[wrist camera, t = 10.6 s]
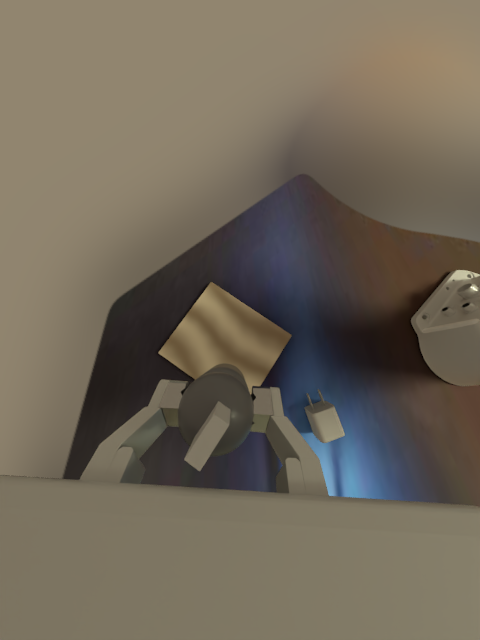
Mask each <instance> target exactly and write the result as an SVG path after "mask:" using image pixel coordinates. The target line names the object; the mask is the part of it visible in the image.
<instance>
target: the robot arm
mask: <svg viewBox="0 0 480 640" xmlns="http://www.w3.org/2000/svg"><path fill="white" fill-rule="evenodd" d="M422 317H423V318H422ZM411 324H412V326H413V328H414V330H415V332H416V333H417V335H418V339H419V345H420V350H421V353H422V355H423V358H424V360H425V362H426V363H427V365H428V366H429V367H430V369H431V370H432V371H433V372H434V373H435V374H436V375H437V376H439V377H440V378H441V379H443V380H445V381H447V382H449V383H451V384H454V385H458V386H472V385H480V275H479V274H476V273H473V272H470V271H465V270H456V271H452V272H451V273H449V275H448V276H447V277H446V278H445V279H444V280H443V282H442V283H441V284H440V285H439V286H438V287H437V289H436V290H435V291H434V292H433V293H432V294H431V296H430V297H429V298H428V299H427V300H426V302H425V303H424V304H423V305H422V306H421V307H420V309H419V310H418V311H417V312H416V313H415V315H414V316H413V317H412V318H411ZM188 386H189V382H188V381H176V380H164V379H161V380H160V382H159V383H158V385H157V388H156V390H155V392H154V394H153V396H152V398H151V401H150V403H149V405H148V407H144V408H143V409H142V410H140V411H139V412H138V413H137V414H136V415H134V416H133V417H132V418H131V419H130V420H128V421H127V422H126V423H125V424H124V425H122V426H121V427H120V428H119V429H118V430H116V431H115V432H114V433H113V434H111V435H110V436H109V437H108V438H107V439H105V440H104V441H103V442H102V443H101V444H100V445H99V447H98V448H97V450H96V452H95V453H94V455H93V457H92V459H91V460H90V462H89V464H88V465H87V467H86V469H85V471H84V472H83V474H82V476H81V477H80V479H79V480H71V479H55V478H39V477H24V476H8V475H0V640H480V507H477V506H473V505H461V504H445V503H430V502H414V501H398V500H383V499H367V498H352V497H336V496H329V495H328V491H327V487H326V483H325V479H324V476H323V472H322V468H321V464H320V460H319V458H318V457H317V456H316V454H315V453H314V452H313V450H312V449H311V448H310V446H309V445H308V444H307V443H306V441H305V440H304V439H303V437H302V436H301V435H300V433H299V432H298V431H297V429H296V428H295V427H294V426H293V424H292V423H291V422H290V420H289V419H288V418H287V417H285V416H284V413H283V407H282V401H281V394H280V389H279V388H277V387H264V386H252V394H251V397H252V401H253V407H254V417H253V423H252V426H251V429H250V431H253V432H263V433H265V434H266V436H267V438H268V439H269V441H270V443H271V445H272V447H273V448H274V450H275V452H276V454H277V456H278V457H279V459H280V461H281V463H282V465H283V466H282V468H281V469H280V471H279V473H278V475H277V477H276V487H277V493H273V492H258V491H242V490H227V489H211V488H195V487H180V486H164V485H149V484H140V483H141V480H142V477H143V475H144V472H145V468H144V466H143V464H142V463H141V461H140V459H139V458H140V457H141V456H142V455H143V454H144V452H145V451H146V450H147V449H148V448H149V447H150V446H151V445H152V443H153V442H154V441H155V440H156V439H157V438H158V437H159V435H160V434H161V433H162V432H163V431H164V430H165V429H166V427H167V426H179V425H178V408H179V404H180V401H181V398H182V396H183V394H184V392H185V390H186V389H187V388H188Z"/></svg>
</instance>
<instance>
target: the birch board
mask: <svg viewBox="0 0 480 640" xmlns="http://www.w3.org/2000/svg"><path fill="white" fill-rule="evenodd" d="M291 336H292V335H291V334H289V333H288V332H286V331H285V330H283V329H282V328H280V327H279V326H277V325H276V324H274V323H273V322H271V321H270V320H268V319H267V318H265V317H264V316H262V315H261V314H259V313H257V312H256V311H254V310H253V309H251V308H250V307H248V306H247V305H245V304H244V303H242V302H241V301H239V300H238V299H236V298H235V297H233V296H232V295H230V294H229V293H227V292H226V291H224V290H223V289H221V288H220V287H218V286H217V285H215V284H214V283H212V282H211V283H210V284H209V285H208V287H207V288H206V289H205V291H204V292H203V293H202V295H201V296H200V297H199V299H198V300H197V301H196V303H195V304H194V305H193V307H192V308H191V309H190V311H189V312H188V313H187V315H186V316H185V317H184V319H183V320H182V321H181V323H180V324H179V326H178V327H177V328H176V330H175V331H174V332H173V334H172V335H171V336H170V338H169V339H168V340H167V342H166V343H165V344H164V346H163V347H162V348H161V350H160V351H159V352H158V353H159V354H160V355H162V356H163V357H164V358H166V359H167V360H168V361H170V362H171V363H173V364H174V365H175V366H177V367H178V368H180V369H181V370H182V371H184V372H185V373H187V374H188V375H189V376H191V377H192V378H194V379H195V380H196V379H197V378H199V377H200V376H201V375H203V374H204V373H205V372H207V371H208V370H210V369H211V368H212V367H214V366H216V365H218V364H222V363H227V364H232V365H234V366H236V367H237V368H238V369H239V370H240V371H241V372H242V374H243V376H244V378H245V381H246V384H247V386H248V389H249V392H250V395H251V394H252V386H261V384H262V382H263V381H264V379H265V378H266V376H267V374H268V373H269V371H270V370H271V368H272V366H273V365H274V363H275V362H276V360H277V359H278V357H279V355H280V354H281V352H282V351H283V349H284V347H285V346H286V344H287V343H288V341H289V339H290V338H291Z"/></svg>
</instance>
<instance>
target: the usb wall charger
mask: <svg viewBox="0 0 480 640" xmlns="http://www.w3.org/2000/svg"><path fill="white" fill-rule="evenodd" d="M317 390H318V393H319V396H320V398H321V401H320V402H317V403H314V404H312V402H311V399H310V397H309V394H308V393H306V394H307V397H308V400H309V403H310V405H309V406H306V407H305V408H304V409H305V411H306V414H307V417H308V420H309V423H310V425H311V428H312V431H313V434H314V435H315V436H316V437H317V438H318V439H319V440H320V442H322V443H327V442H329V441H332V440H335V439H337V438H340V437H343V436H344V435H345V433H344V430H343V428H342V425H341V423H340V420H339V417H338V415H337V412H336V410H335V407H334V405H332V404H331V403H329V402H327V401H324V400H323V397H322V394H321V392H320V390H319V389H317Z"/></svg>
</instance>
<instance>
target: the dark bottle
mask: <svg viewBox="0 0 480 640" xmlns="http://www.w3.org/2000/svg"><path fill="white" fill-rule="evenodd" d="M253 417H254V407H253V401H252V397H251V395H250V392H249V389H248V386H247V384H246V381H245V378H244V376H243V374H242V372H241V371H240V370H239V369H238V368H237V367H236V366H234V365H232V364H227V363H222V364H218V365H216V366H214V367H212V368H211V369H210V370H208V371H207V372H205V373H204V374H203V375H201V376H200V377H199V378H197V379H196V380H195V381H193V382H192V383H191V384H190V385H189V386H188V388H187V389H186V390H185V392H184V394H183V396H182V398H181V401H180V404H179V408H178V425H179V429H180V432H181V435H182V437H183V439H184V440H185V442H186V443H187V444H188V445H189V446H190V448H189V450H188V452H187V454H186V457H185V459H184V460H185V461H187V462H188V463H189V464H191V465H192V466H193V467H194V468H196V469H197V470H198V471H200V470H201V469H202V467H203V466H204V464H205V462H206V461H207V459H208V458H209V456H221V455H225V454H227V453H230V452H232V451H233V450H235V449H236V448H237V447H238V446H240V445H241V443H242V442H243V441H244V440H245V439H246V437H247V435H248V434H249V432H250V429H251V426H252V423H253Z"/></svg>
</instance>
